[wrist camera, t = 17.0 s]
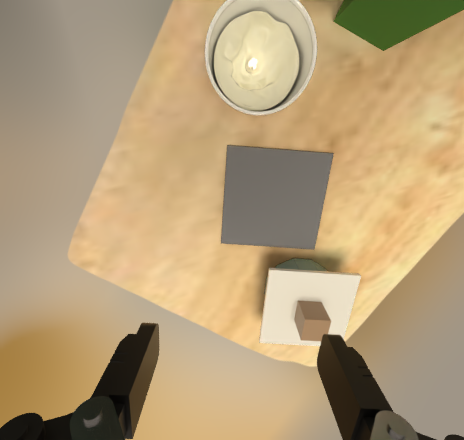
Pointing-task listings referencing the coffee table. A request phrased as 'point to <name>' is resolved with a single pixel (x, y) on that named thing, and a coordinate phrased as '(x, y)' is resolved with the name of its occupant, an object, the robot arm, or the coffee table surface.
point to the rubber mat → (274, 196)
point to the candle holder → (260, 54)
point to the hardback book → (393, 18)
